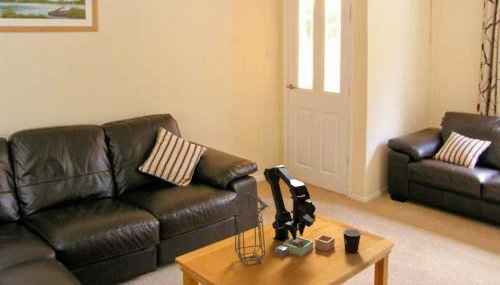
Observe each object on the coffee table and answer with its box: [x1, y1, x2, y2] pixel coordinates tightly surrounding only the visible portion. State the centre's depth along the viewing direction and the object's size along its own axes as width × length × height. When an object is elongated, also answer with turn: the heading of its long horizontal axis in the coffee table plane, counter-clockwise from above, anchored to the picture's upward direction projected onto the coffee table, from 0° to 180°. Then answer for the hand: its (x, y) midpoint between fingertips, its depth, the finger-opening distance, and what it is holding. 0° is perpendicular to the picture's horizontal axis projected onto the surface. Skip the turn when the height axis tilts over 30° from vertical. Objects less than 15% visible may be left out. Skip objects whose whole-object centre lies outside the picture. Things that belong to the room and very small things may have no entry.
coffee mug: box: [343, 228, 362, 255], centre depth 256 cm, size 12×9×10 cm
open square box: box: [314, 234, 336, 253], centre depth 259 cm, size 7×7×5 cm
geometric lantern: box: [229, 191, 269, 267], centre depth 242 cm, size 16×16×35 cm
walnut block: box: [292, 239, 303, 248], centre depth 257 cm, size 4×4×4 cm
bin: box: [282, 235, 314, 257], centre depth 257 cm, size 11×11×4 cm
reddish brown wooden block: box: [274, 244, 289, 257], centre depth 253 cm, size 5×4×4 cm
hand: (297, 237), depth 256 cm, fingers open, 6 cm apart
